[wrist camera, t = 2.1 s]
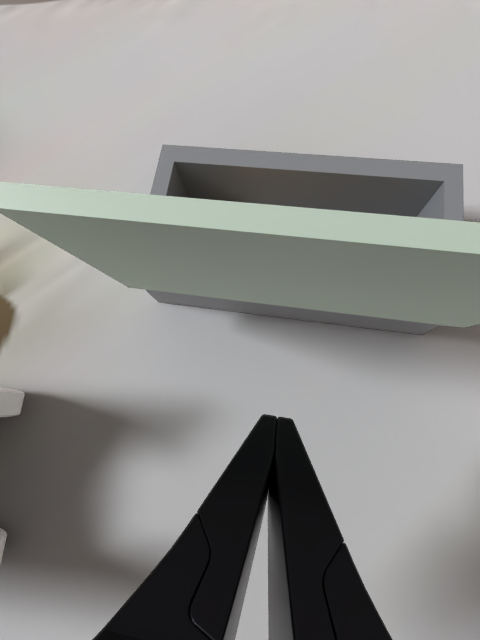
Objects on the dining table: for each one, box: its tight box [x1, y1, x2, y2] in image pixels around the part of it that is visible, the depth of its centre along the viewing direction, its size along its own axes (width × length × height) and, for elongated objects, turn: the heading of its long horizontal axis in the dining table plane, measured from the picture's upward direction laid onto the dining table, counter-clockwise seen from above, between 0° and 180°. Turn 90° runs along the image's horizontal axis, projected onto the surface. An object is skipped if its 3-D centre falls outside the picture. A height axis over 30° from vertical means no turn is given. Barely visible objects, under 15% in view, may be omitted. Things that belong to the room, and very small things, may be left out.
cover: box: [0, 182, 480, 328], centre depth 13 cm, size 9×18×1 cm
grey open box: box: [145, 145, 464, 335], centre depth 21 cm, size 9×18×5 cm, turn 81°
